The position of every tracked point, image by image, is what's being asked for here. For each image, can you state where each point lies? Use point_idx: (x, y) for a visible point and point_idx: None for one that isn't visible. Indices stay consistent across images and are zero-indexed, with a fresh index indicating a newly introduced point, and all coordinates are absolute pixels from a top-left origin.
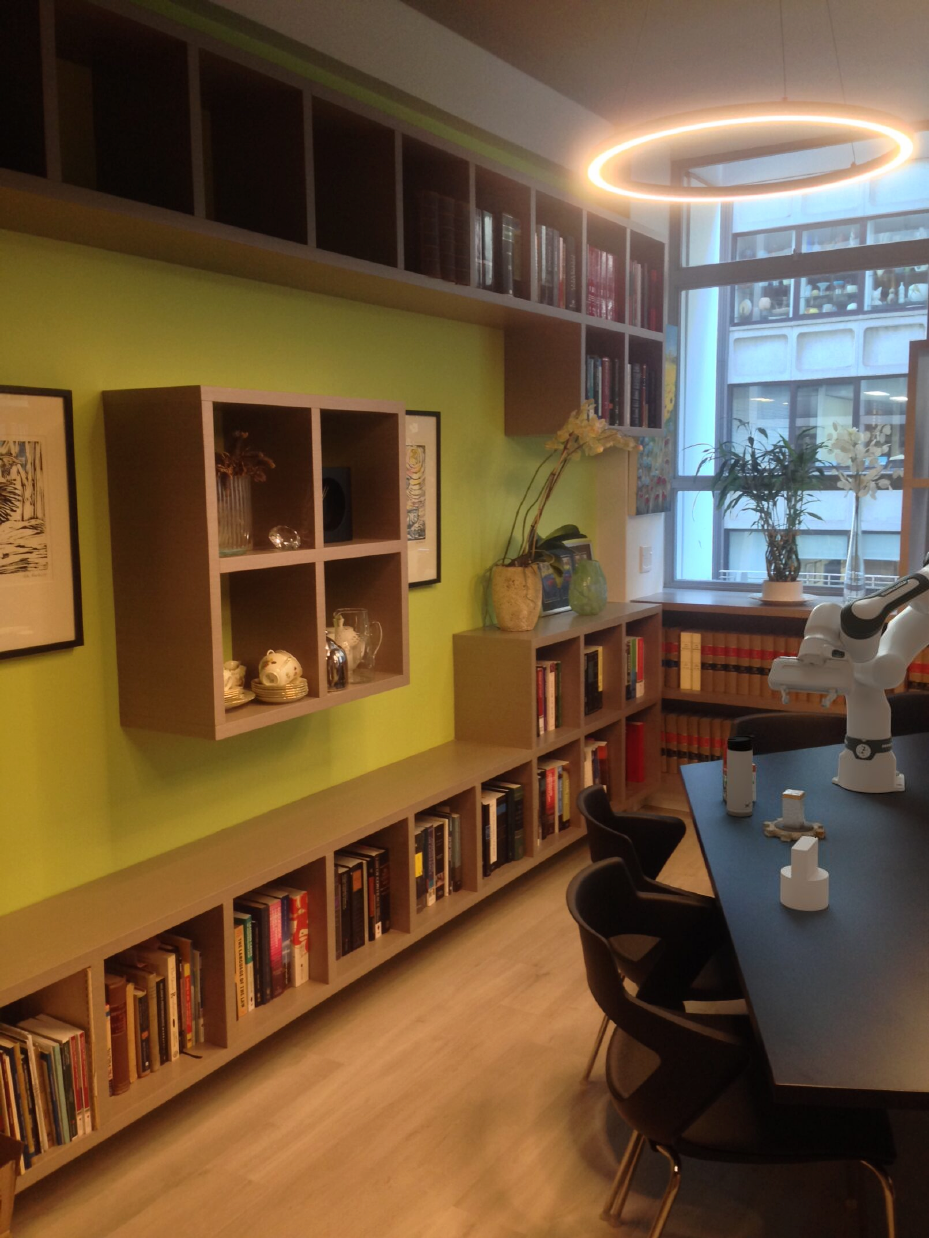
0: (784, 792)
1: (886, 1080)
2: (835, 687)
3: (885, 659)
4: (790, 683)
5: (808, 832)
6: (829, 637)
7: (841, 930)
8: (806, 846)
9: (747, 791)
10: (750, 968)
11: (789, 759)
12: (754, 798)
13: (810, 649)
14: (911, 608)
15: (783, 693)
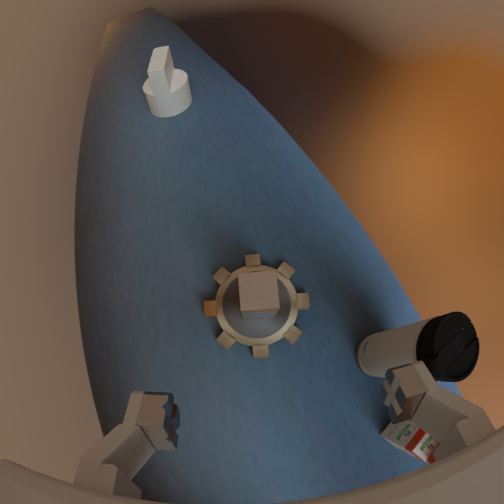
0: (274, 278)
1: (117, 21)
2: (64, 481)
3: None
4: (452, 456)
5: (223, 285)
6: None
7: (136, 82)
8: (155, 54)
9: (375, 343)
10: (182, 32)
11: None
12: (383, 433)
13: None
14: None
15: (443, 394)
